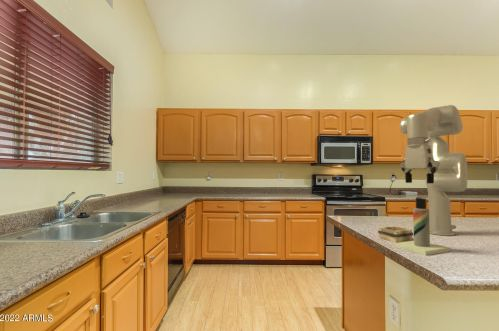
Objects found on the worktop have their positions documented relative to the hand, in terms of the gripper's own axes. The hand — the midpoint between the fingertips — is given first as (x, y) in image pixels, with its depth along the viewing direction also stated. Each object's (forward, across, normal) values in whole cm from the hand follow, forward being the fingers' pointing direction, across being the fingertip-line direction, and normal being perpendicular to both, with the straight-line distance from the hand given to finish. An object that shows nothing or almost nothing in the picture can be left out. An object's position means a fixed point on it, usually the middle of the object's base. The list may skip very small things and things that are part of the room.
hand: (419, 183), depth 115 cm
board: (+28, 0, 0) cm, 28 cm away
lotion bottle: (+26, 0, 0) cm, 26 cm away
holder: (+28, +17, -5) cm, 33 cm away
